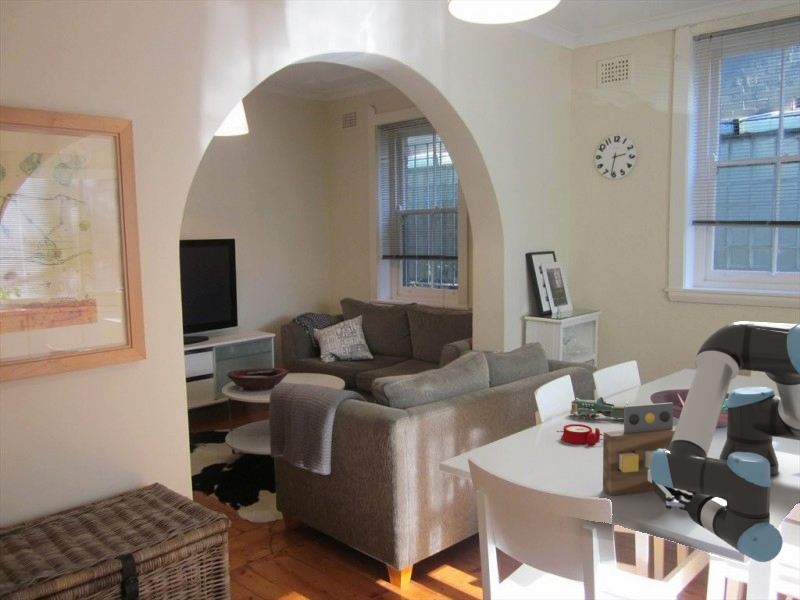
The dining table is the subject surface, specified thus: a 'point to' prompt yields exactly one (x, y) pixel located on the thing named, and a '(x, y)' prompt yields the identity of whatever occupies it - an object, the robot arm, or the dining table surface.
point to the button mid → (648, 457)
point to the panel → (636, 443)
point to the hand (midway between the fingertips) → (650, 474)
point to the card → (648, 417)
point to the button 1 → (628, 461)
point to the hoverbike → (596, 409)
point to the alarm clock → (580, 434)
